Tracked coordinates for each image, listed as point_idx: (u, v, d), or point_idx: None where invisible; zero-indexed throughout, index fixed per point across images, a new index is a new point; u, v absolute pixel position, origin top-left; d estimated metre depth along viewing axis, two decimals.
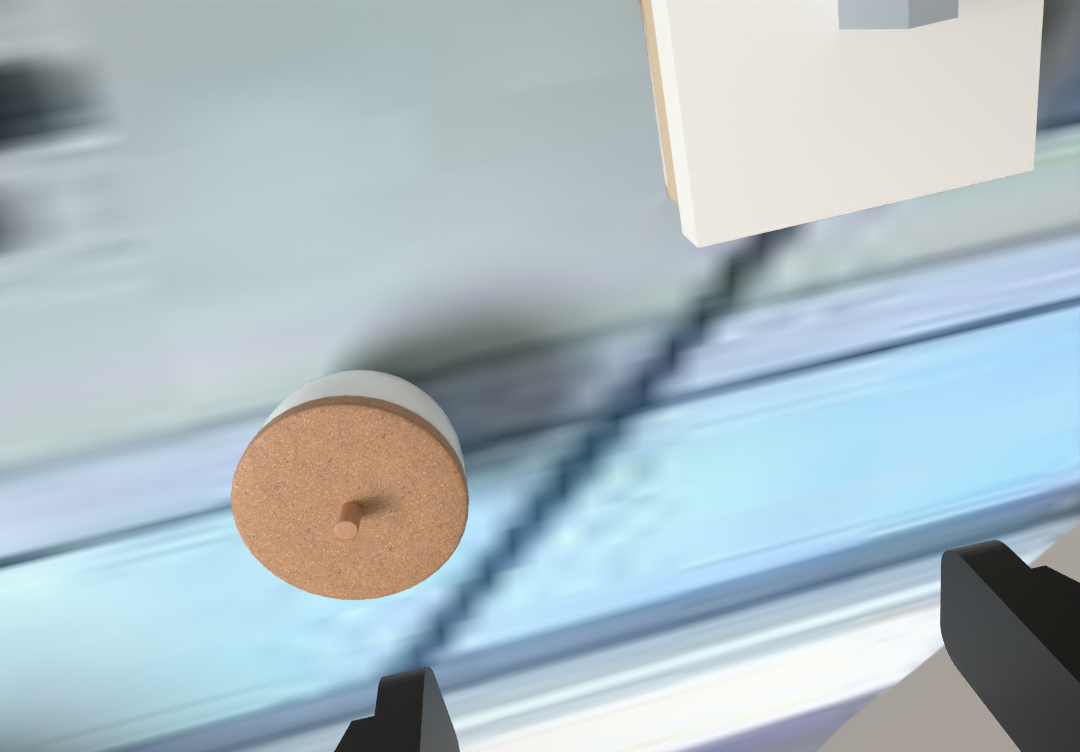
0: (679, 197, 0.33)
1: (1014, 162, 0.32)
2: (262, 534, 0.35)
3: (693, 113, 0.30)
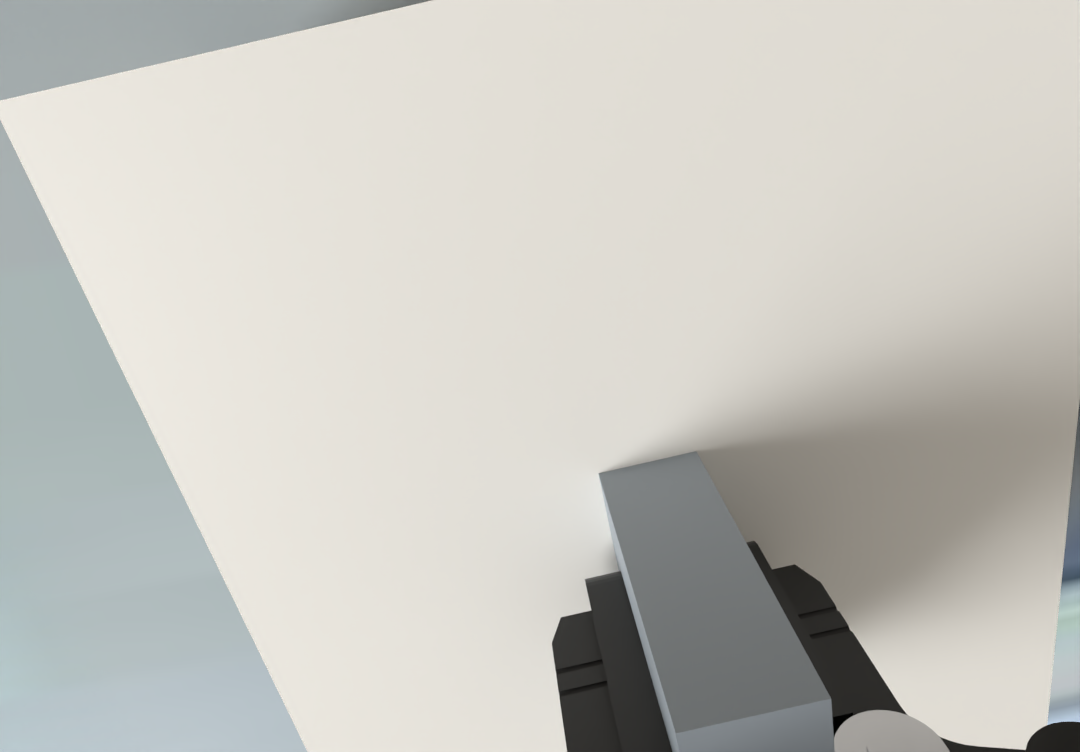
0: None
1: None
2: None
3: None
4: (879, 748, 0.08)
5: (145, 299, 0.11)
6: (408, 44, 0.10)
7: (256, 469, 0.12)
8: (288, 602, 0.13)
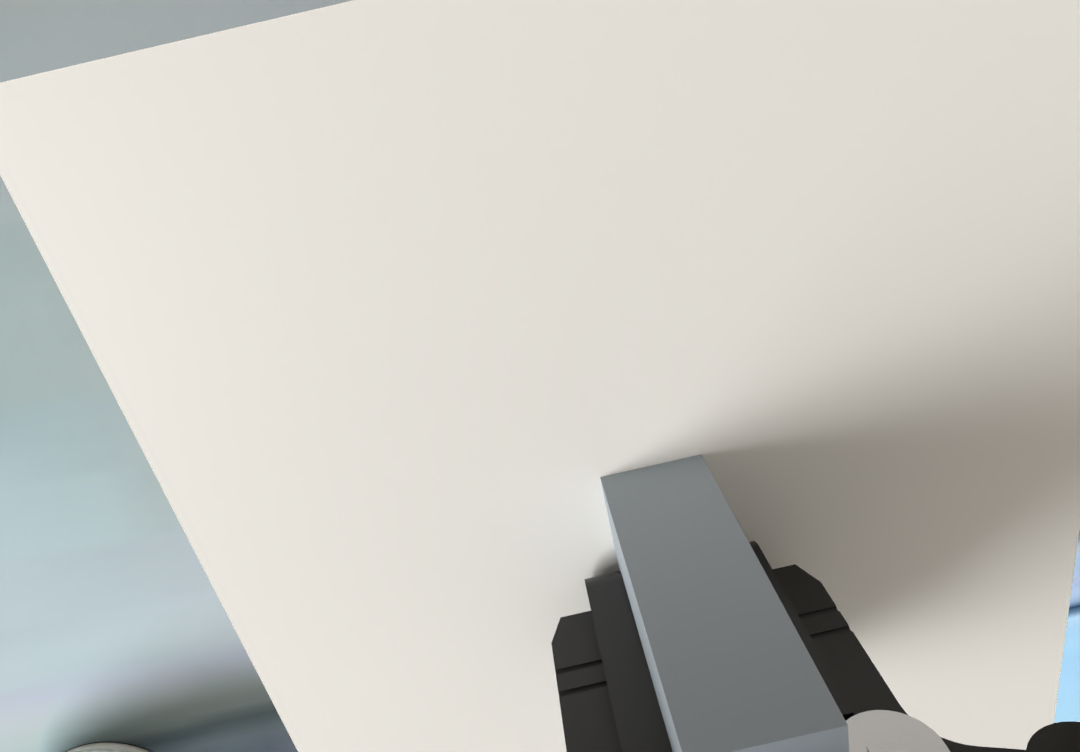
0: None
1: None
2: None
3: None
4: (879, 748, 0.08)
5: (126, 299, 0.10)
6: (401, 31, 0.09)
7: (245, 474, 0.11)
8: (280, 609, 0.12)
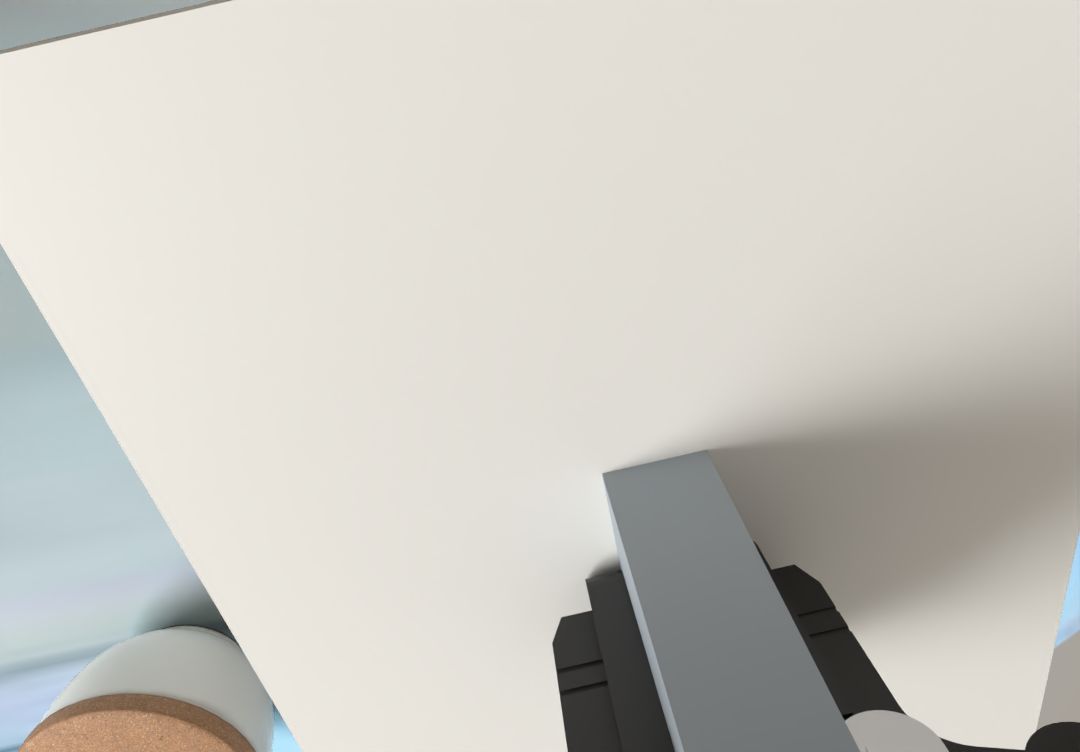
0: None
1: None
2: None
3: None
4: (878, 748, 0.08)
5: (99, 298, 0.09)
6: (392, 10, 0.08)
7: (234, 474, 0.11)
8: (273, 605, 0.12)
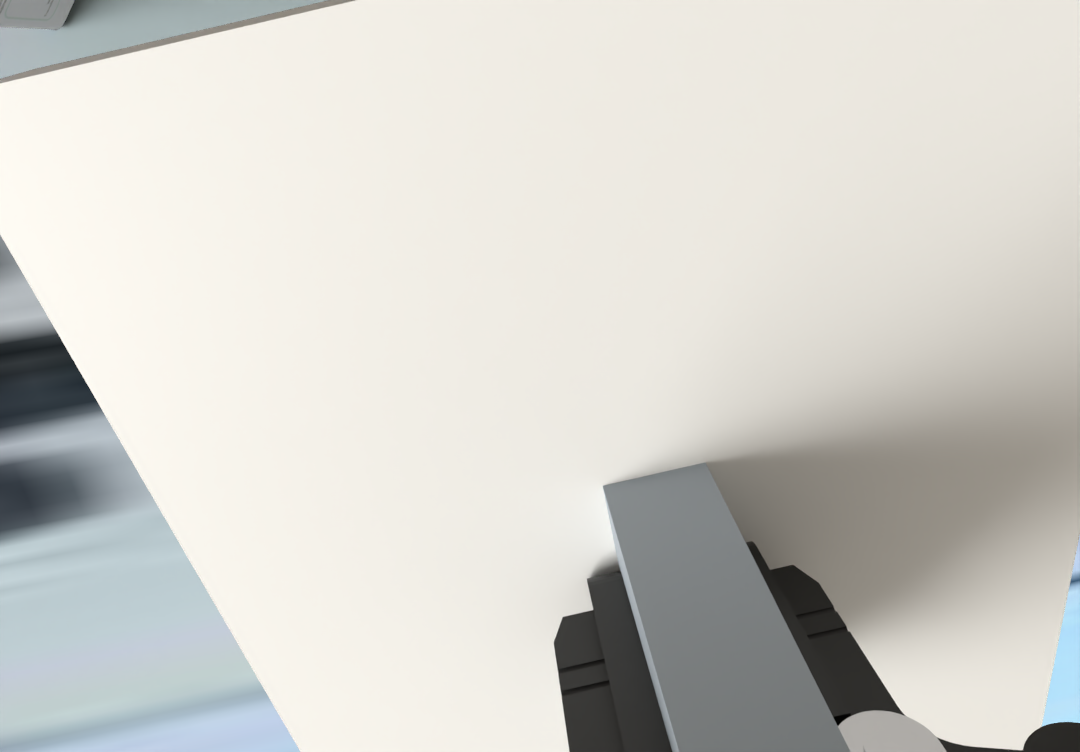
0: None
1: None
2: None
3: None
4: (876, 749, 0.08)
5: (111, 314, 0.10)
6: (397, 36, 0.08)
7: (241, 487, 0.11)
8: (278, 616, 0.12)
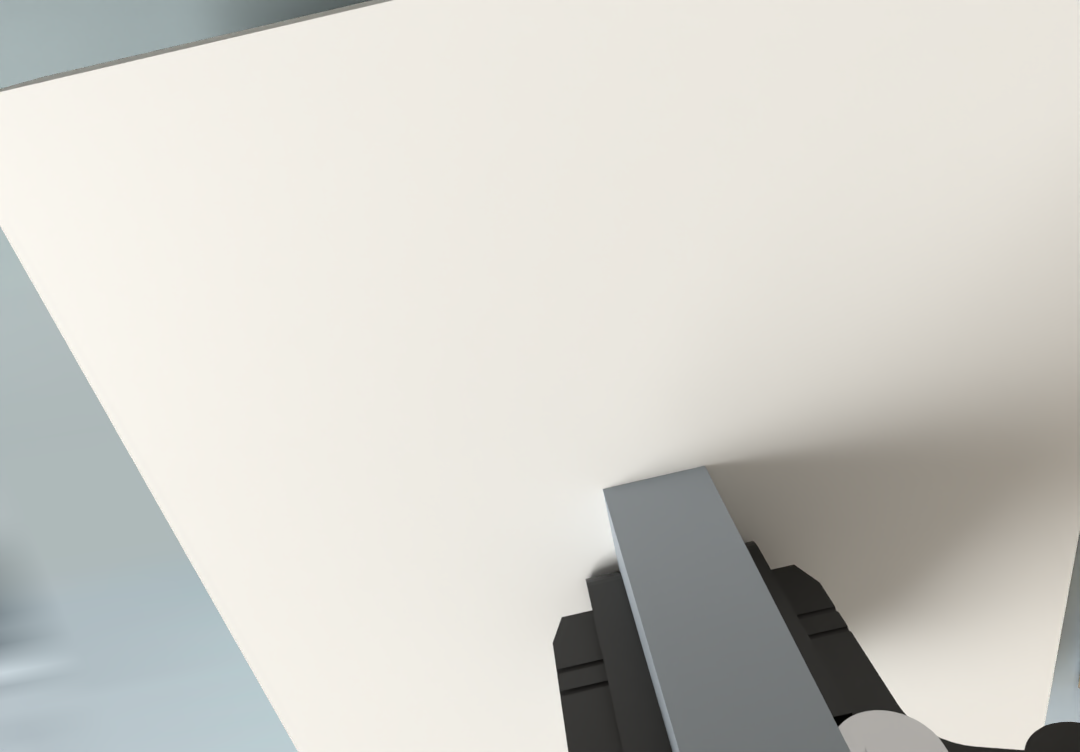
0: None
1: None
2: None
3: None
4: (878, 749, 0.08)
5: (116, 318, 0.10)
6: (399, 42, 0.09)
7: (242, 489, 0.11)
8: (280, 620, 0.12)
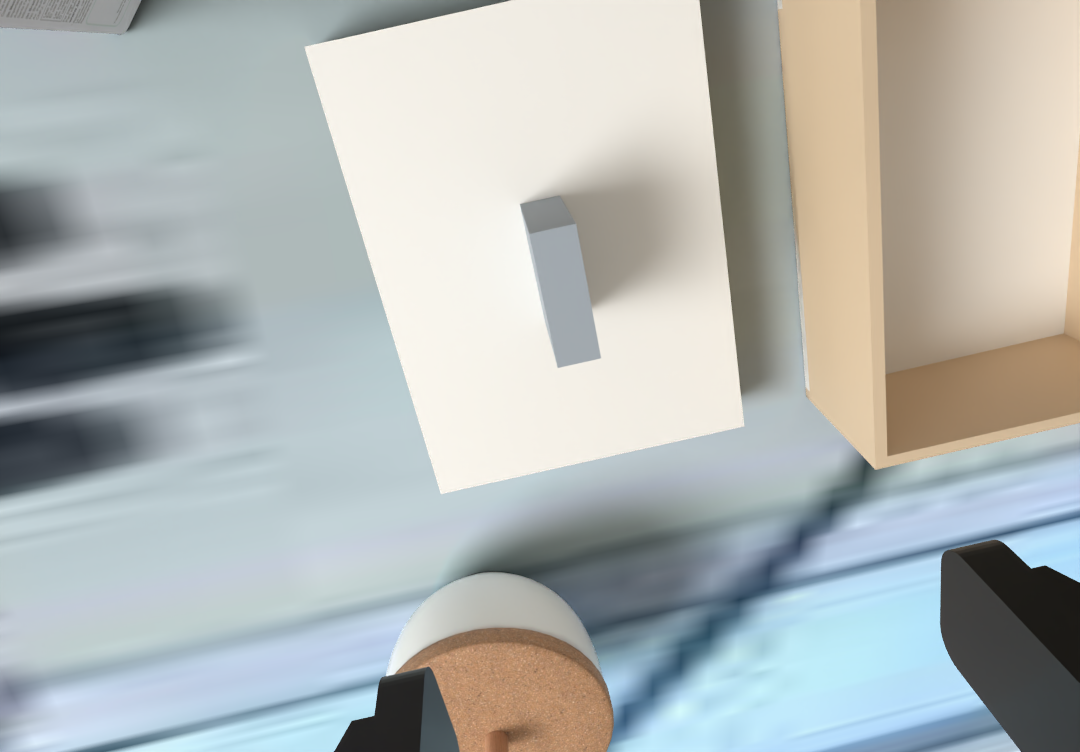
0: None
1: (725, 420, 0.35)
2: None
3: (420, 389, 0.33)
4: None
5: (347, 122, 0.28)
6: (447, 28, 0.27)
7: (383, 196, 0.30)
8: (391, 261, 0.31)
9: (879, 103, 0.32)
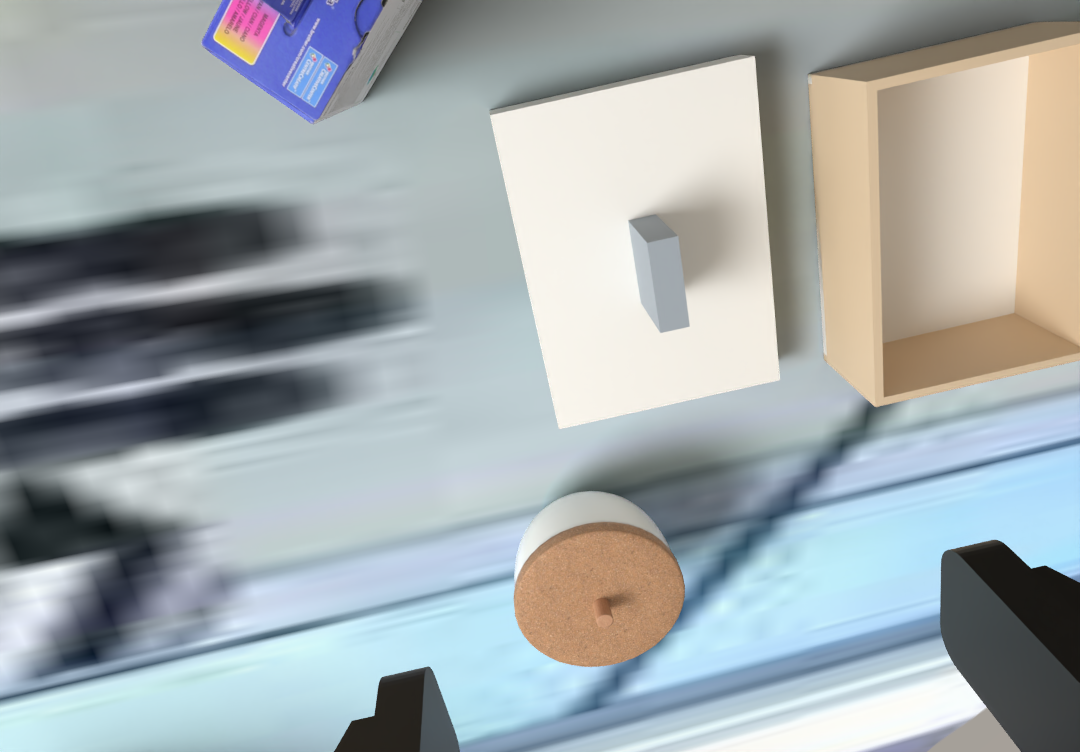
0: None
1: (766, 375, 0.48)
2: (535, 621, 0.48)
3: (550, 351, 0.46)
4: None
5: (515, 164, 0.42)
6: (586, 102, 0.41)
7: (534, 215, 0.43)
8: (537, 260, 0.44)
9: (879, 148, 0.45)
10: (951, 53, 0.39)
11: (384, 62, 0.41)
